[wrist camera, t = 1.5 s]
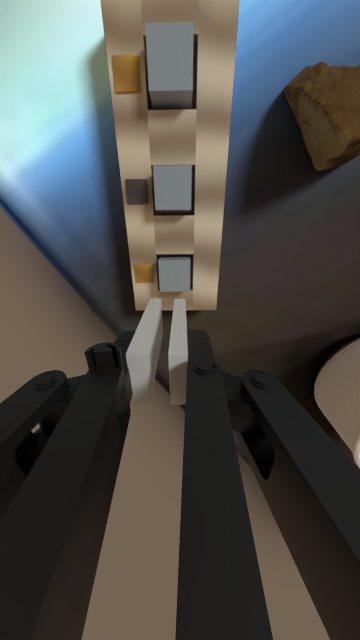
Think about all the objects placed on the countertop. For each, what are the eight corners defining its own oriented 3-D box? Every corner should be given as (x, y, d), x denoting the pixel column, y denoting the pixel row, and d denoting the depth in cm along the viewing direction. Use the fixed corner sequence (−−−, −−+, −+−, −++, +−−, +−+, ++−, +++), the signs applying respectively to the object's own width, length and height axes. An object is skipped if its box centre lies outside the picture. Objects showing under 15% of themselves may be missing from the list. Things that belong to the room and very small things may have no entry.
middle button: (156, 173, 23) (153, 165, 20) (190, 173, 23) (191, 165, 20) (158, 211, 25) (155, 209, 22) (190, 211, 25) (191, 209, 22)
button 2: (160, 256, 28) (158, 260, 24) (189, 256, 27) (190, 260, 24) (162, 284, 29) (159, 291, 26) (189, 284, 29) (189, 291, 26)
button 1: (151, 55, 19) (145, 22, 16) (191, 54, 19) (193, 21, 16) (153, 110, 21) (148, 91, 18) (191, 110, 21) (192, 90, 18)
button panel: (113, 25, 20) (97, -21, 16) (230, 22, 20) (241, -25, 16) (140, 301, 33) (135, 310, 29) (212, 300, 33) (216, 310, 29)
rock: (263, 70, 20) (273, 181, 23) (381, -52, 13) (375, 131, 16) (313, 92, 25) (317, 180, 28) (417, 13, 18) (407, 142, 21)
